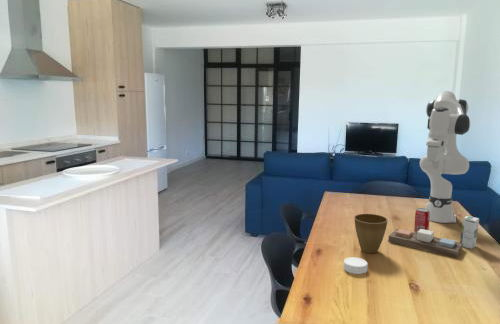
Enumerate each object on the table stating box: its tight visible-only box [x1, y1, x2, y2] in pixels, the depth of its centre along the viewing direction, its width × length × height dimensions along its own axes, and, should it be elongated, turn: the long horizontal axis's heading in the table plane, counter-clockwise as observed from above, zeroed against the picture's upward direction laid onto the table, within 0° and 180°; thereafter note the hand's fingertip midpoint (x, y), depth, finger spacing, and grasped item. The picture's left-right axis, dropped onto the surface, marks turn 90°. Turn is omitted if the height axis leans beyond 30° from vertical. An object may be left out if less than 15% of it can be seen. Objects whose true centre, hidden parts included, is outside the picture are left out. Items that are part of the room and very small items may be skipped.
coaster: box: [342, 256, 369, 275], centre depth 160 cm, size 10×10×4 cm
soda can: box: [413, 207, 430, 233], centre depth 202 cm, size 7×7×13 cm
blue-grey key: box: [439, 237, 457, 248], centre depth 180 cm, size 6×6×4 cm
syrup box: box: [459, 215, 480, 250], centre depth 184 cm, size 6×6×14 cm
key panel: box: [387, 228, 463, 259], centre depth 186 cm, size 13×31×3 cm, turn 52°
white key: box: [417, 229, 434, 243], centre depth 185 cm, size 6×6×4 cm
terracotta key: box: [396, 228, 413, 238], centre depth 192 cm, size 6×6×4 cm
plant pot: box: [354, 213, 388, 254], centre depth 178 cm, size 15×15×16 cm
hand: (435, 168), depth 186 cm, fingers closed
